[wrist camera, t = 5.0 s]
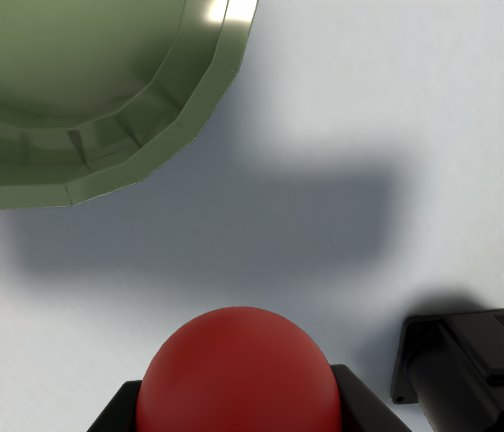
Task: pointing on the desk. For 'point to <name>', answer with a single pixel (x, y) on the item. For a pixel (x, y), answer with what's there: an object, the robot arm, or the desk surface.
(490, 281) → the desk surface
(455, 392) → the robot arm
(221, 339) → the red round piece
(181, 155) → the desk surface
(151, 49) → the bowl
